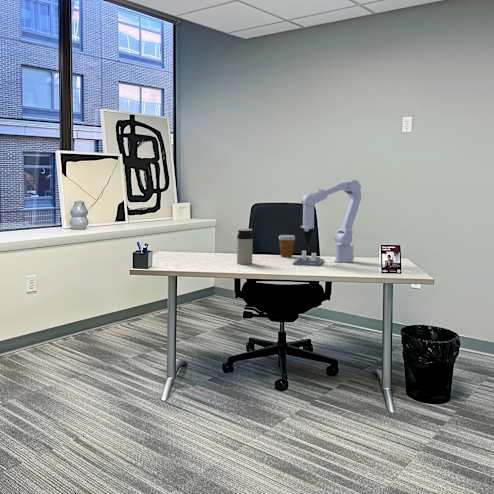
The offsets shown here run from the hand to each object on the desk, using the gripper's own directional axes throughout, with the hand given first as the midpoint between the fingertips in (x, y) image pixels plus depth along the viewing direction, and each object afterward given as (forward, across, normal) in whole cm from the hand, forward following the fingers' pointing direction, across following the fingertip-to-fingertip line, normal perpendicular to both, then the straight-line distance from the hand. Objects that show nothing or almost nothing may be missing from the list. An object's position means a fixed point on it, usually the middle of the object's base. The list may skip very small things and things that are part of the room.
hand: (307, 243), depth 297 cm
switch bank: (+10, +1, +1) cm, 10 cm away
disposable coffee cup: (+10, -18, -14) cm, 25 cm away
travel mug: (+10, +13, -31) cm, 35 cm away
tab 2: (+9, +4, +4) cm, 10 cm away
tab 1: (+9, -2, -2) cm, 9 cm away
